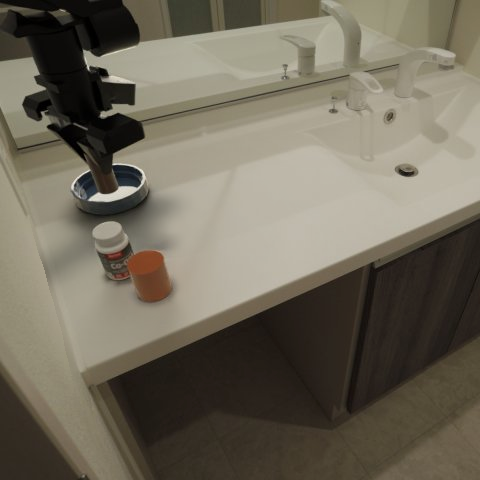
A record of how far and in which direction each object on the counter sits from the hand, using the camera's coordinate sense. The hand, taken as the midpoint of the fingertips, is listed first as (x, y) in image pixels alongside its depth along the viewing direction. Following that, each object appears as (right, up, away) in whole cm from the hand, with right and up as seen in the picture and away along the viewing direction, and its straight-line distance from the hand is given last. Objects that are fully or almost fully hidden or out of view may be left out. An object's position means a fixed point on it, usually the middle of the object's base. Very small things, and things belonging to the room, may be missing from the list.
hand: (101, 170), depth 64 cm
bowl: (-7, -2, +17) cm, 18 cm away
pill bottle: (+2, -16, +3) cm, 16 cm away
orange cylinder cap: (+8, -18, 0) cm, 20 cm away
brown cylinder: (0, 0, 0) cm, 0 cm away
